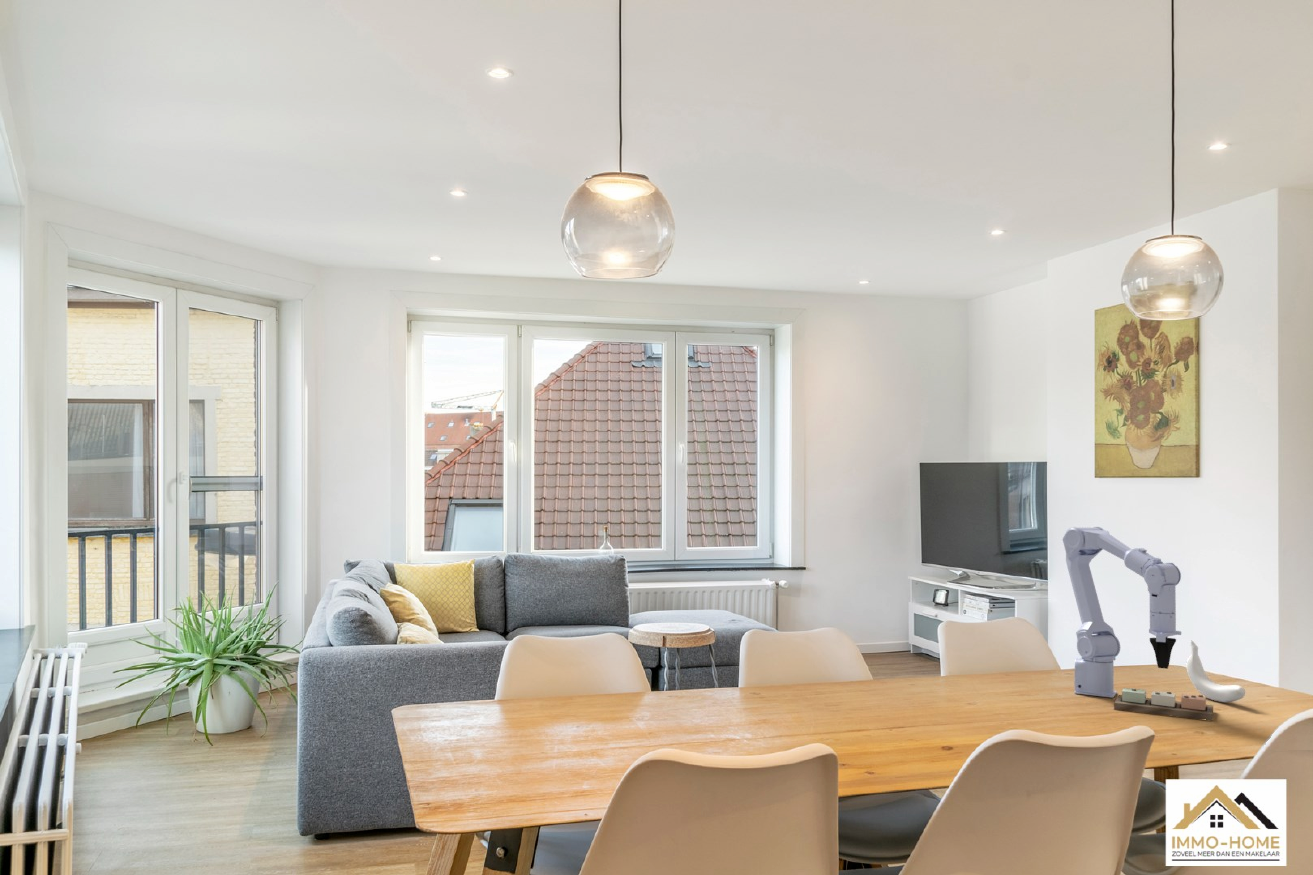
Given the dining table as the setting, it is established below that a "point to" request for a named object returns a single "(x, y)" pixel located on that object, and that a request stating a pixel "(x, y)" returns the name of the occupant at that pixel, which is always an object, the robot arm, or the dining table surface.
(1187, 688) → the dining table surface
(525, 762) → the dining table surface
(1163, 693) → the tile two
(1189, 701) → the tile three
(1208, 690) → the banana
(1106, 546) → the robot arm
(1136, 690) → the tile one
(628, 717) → the dining table surface
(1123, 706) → the dice tray
